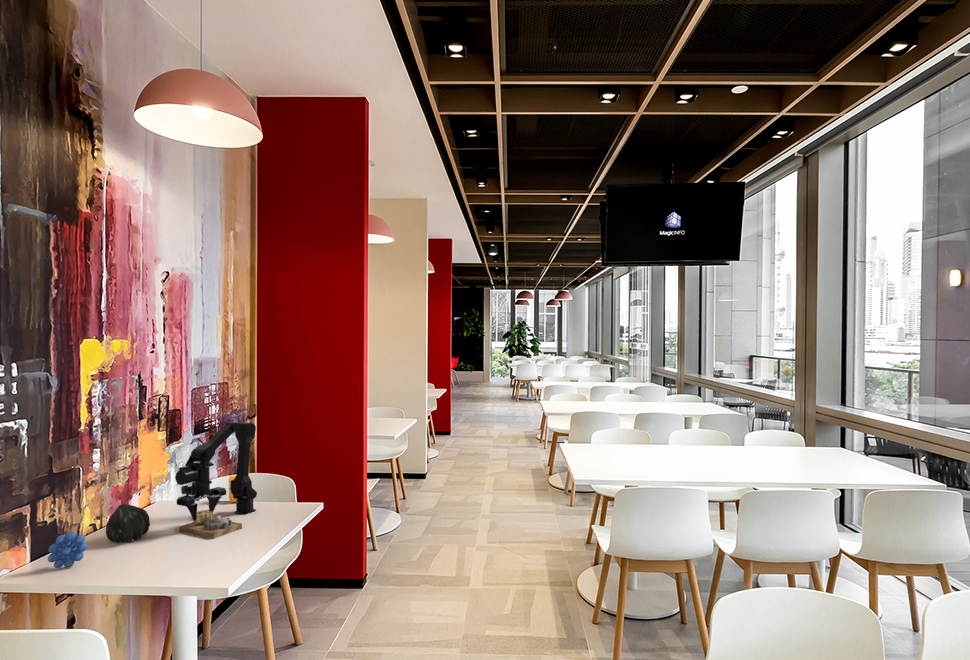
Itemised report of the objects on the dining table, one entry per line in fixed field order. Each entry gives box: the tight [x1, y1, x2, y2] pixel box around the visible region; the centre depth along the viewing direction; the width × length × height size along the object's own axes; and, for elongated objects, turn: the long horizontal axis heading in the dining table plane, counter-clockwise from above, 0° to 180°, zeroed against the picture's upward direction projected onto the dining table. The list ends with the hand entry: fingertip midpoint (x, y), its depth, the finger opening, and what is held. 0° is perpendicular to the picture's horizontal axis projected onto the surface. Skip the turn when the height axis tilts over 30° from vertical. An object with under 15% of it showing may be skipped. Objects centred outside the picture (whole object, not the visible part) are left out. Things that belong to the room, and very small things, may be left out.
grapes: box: [47, 531, 89, 569], centre depth 196 cm, size 12×7×12 cm, turn 108°
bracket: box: [228, 475, 237, 504], centre depth 275 cm, size 11×7×12 cm, turn 27°
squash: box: [105, 503, 151, 544], centre depth 222 cm, size 14×15×15 cm
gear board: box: [178, 512, 243, 540], centre depth 231 cm, size 13×21×6 cm, turn 62°
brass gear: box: [192, 509, 213, 523], centre depth 233 cm, size 7×7×3 cm
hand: (202, 517), depth 233 cm, fingers closed on brass gear, 7 cm apart
